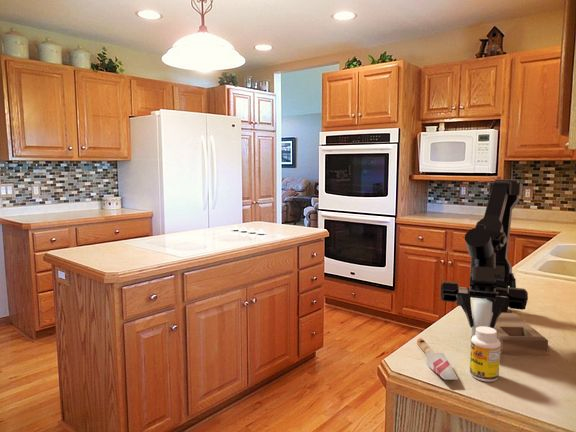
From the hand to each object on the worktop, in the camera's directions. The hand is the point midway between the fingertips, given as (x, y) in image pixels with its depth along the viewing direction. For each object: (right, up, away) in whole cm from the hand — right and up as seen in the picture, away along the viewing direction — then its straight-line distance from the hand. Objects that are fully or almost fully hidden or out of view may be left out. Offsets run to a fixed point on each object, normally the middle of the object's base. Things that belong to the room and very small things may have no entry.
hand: (481, 328), depth 99 cm
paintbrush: (-12, -8, -2) cm, 14 cm away
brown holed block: (+11, -5, +10) cm, 16 cm away
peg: (+1, -6, +2) cm, 7 cm away
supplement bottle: (-3, -8, -8) cm, 12 cm away
